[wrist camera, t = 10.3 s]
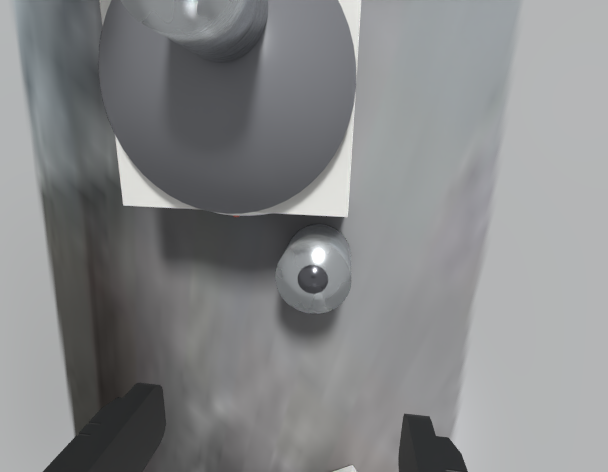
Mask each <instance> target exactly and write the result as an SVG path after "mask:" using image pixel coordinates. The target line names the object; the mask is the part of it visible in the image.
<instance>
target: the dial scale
mask: <svg viewBox="0 0 608 472" xmlns="http://www.w3.org/2000/svg"><path fill="white" fill-rule="evenodd" d="M99 2H100V11H101V19H102V32H101V38H100V44H99V61H98V67H99V82H100V88H101V93H102V99H103V103H104V106H105V110H106V113H107V116H108V119H109V122H110V124H111V126H112V129H113V131H114V134H115V139H116V147H117V156H118V164H119V173H120V182H121V190H122V199H123V205H124V206H144V207H163V208H182V209H201V210H206V211H210V212H215V213H218V214H224V215H233V217H239V216H252V215H264V214H270V213H278V214H298V215H317V216H336V217H348V205H349V189H350V173H351V157H352V141H353V125H354V109H355V92H356V76H357V60H358V44H359V28H360V12H361V0H268V17H267V23H266V26H265V29H264V32H263V34H262V36H261V38H260V40H259V41H258V43H257V44H256V45H255V47H254V48H253V49H252V50H251V51H250V52H248V53H247V54H246V55H244V56H243V57H241V58H239V59H236V60H234V61H229V62H213V61H209V60H207V59H204V58H202V57H200V56H198V55H197V54H195V53H193V52H191V51H190V50H188V49H186V48H184V47H182V46H181V45H179V44H177V43H175V42H174V41H172V40H170V39H168V38H167V37H165V36H163V35H161V34H160V33H158V32H156V31H154V30H153V29H151V28H149V27H147V26H145V25H144V24H142V23H141V22H140V21H138V20H137V19H136V18H135V17H134V16H133V15H132V14H131V13H130V12H129V11H128V10H127V9H126V8H125V6H124V5H123V3H122V2H121V0H99Z"/></svg>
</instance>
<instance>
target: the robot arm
mask: <svg viewBox="0 0 608 472" xmlns="http://www.w3.org/2000/svg"><path fill="white" fill-rule="evenodd" d="M165 426H166V419H165V409H164V398H163V389H162V387H161V386H160V385H155V384H146V383H137V384H135V385H134V386H133V387H132V388H131V390H130V391H129V392H128V393H127V394H126V395H125V396H124V398H119V397H118V398H117V399H115V400H113V401H112V402H110V403H109V404H107V405H106V406H104V407H103V408H101V410H100V411H99V412H98V413H97V414H96V415H95V416H94V417H93V418H92V419H91V420H90V421H89V424H87V425H86V426H85V427H84V428H83V429H82V430H81V431H80V432H79V435H78V436H76V437H75V438H74V439H73V440H72V441H71V442H70V443H69V444H68V445H67V446H66V447H65V448H64V449H63V451H62V452H61V453H60V454H59V455H58V456H57V457H56V458H55V459H54V460H53V461H52V462H51V464H50V465H49V466H48V467H47V468H46V469H45V470H44V471H43V472H142V471H143V470H144V468H145V466H146V465H147V463H148V462H149V460H150V458H151V457H152V455H153V454H154V452H155V450H156V449H157V447H158V446H159V444H160V442H161V440H162V438H163V435H164V432H165ZM399 472H468V471H467V468H466V466H465V463H464V460H463V457H462V454H461V453H460V451H458V449H457V448H456V447H455V445H454V444H453V443H452V441H451V440H450V439H449V438H447V437H438V436H436V435H435V432H434V428H433V425H432V422H431V419H430V417H429V416H421V415H412V414H404V417H403V423H402V431H401V439H400V447H399Z"/></svg>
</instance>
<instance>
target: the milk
mask: <svg viewBox="0 0 608 472" xmlns="http://www.w3.org/2000/svg"><path fill="white" fill-rule="evenodd" d="M333 472H357V471H356V469H355V468H354V466H353V465H351V466H348V467H345V468H342V469H339V470H336V471H333Z"/></svg>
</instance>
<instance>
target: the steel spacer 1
mask: <svg viewBox="0 0 608 472" xmlns="http://www.w3.org/2000/svg"><path fill="white" fill-rule="evenodd" d="M121 2H122V3H123V5H124V6H125V8H126V9H127V10H128V11H129V12H130V13H131V14H132V15H133V16H134V17H135V18H136V19H137V20H138V21H140V22H141V23H142V24H144V25H145V26H147V27H149V28H151V29H153V30H154V31H156V32H158V33H160V34H161V35H163V36H165V37H167V38H168V39H170V40H172V41H174V42H175V43H177V44H179V45H181V46H182V47H184V48H186V49H188V50H190V51H191V52H193V53H195V54H197V55H198V56H200V57H202V58H204V59H207V60H209V61H213V62H229V61H234V60H236V59H239V58H241V57H243V56H244V55H246V54H247V53H248V52H250V51H251V50H252V49H253V48H254V47H255V45H256V44H257V43H258V41H259V40H260V38H261V36H262V34H263V32H264V29H265V26H266V23H267V17H268V0H121Z"/></svg>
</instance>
